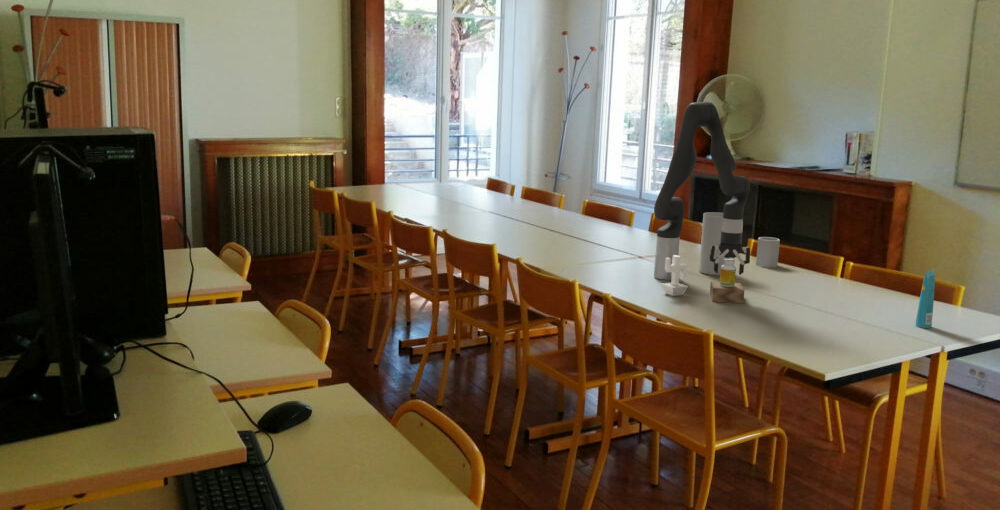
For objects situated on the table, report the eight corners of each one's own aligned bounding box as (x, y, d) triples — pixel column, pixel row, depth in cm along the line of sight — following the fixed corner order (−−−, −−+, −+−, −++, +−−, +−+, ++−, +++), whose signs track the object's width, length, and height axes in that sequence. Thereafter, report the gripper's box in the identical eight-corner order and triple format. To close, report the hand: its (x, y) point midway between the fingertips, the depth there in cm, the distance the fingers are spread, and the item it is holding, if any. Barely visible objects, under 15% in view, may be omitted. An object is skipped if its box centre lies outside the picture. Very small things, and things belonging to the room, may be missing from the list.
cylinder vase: (726, 270, 359) (731, 212, 354) (731, 276, 346) (736, 217, 341) (697, 268, 360) (701, 211, 355) (701, 275, 348) (705, 216, 343)
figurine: (690, 295, 313) (693, 256, 310) (669, 297, 309) (672, 258, 306) (678, 291, 319) (680, 252, 316) (658, 293, 315) (660, 254, 312)
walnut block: (712, 301, 305) (713, 288, 304) (709, 294, 316) (710, 281, 315) (743, 303, 303) (744, 290, 302) (739, 296, 314) (740, 283, 313)
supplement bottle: (731, 288, 305) (734, 262, 303) (717, 285, 308) (719, 260, 306) (736, 285, 309) (738, 259, 307) (721, 283, 312) (724, 257, 310)
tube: (918, 322, 284) (925, 267, 280) (933, 325, 281) (941, 270, 277) (912, 327, 278) (919, 271, 274) (928, 330, 275) (935, 273, 271)
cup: (755, 266, 368) (757, 239, 366) (756, 262, 377) (759, 236, 374) (776, 268, 365) (779, 241, 363) (777, 264, 373) (780, 238, 371)
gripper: (712, 231, 302) (709, 274, 305) (753, 233, 300) (749, 277, 303) (711, 227, 309) (707, 270, 312) (750, 229, 307) (746, 272, 310)
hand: (728, 273), depth 308 cm, fingers open, 8 cm apart
